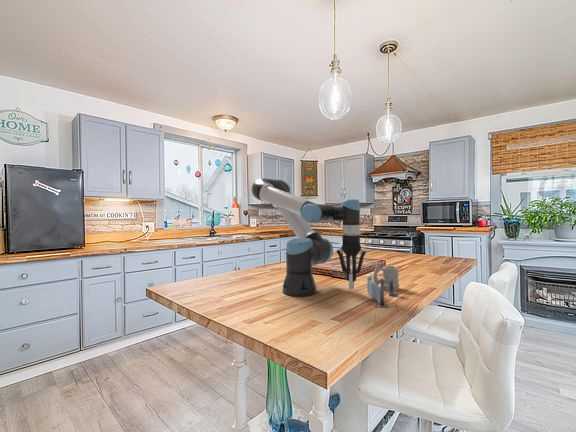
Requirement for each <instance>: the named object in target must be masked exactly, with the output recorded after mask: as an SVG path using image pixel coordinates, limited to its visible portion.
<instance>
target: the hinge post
mask: <svg viewBox="0 0 576 432" xmlns="http://www.w3.org/2000/svg"><path fill="white" fill-rule="evenodd" d="M379 280H380V287H381V303H379V302H378V303H377V304H376V306H377V307H378V308H381V309H382V308H384V309H386V308H388V307H389V305H388V304H386V303H385V289H384V283H385V280H384V279H383V278H381V279H379Z"/></svg>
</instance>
